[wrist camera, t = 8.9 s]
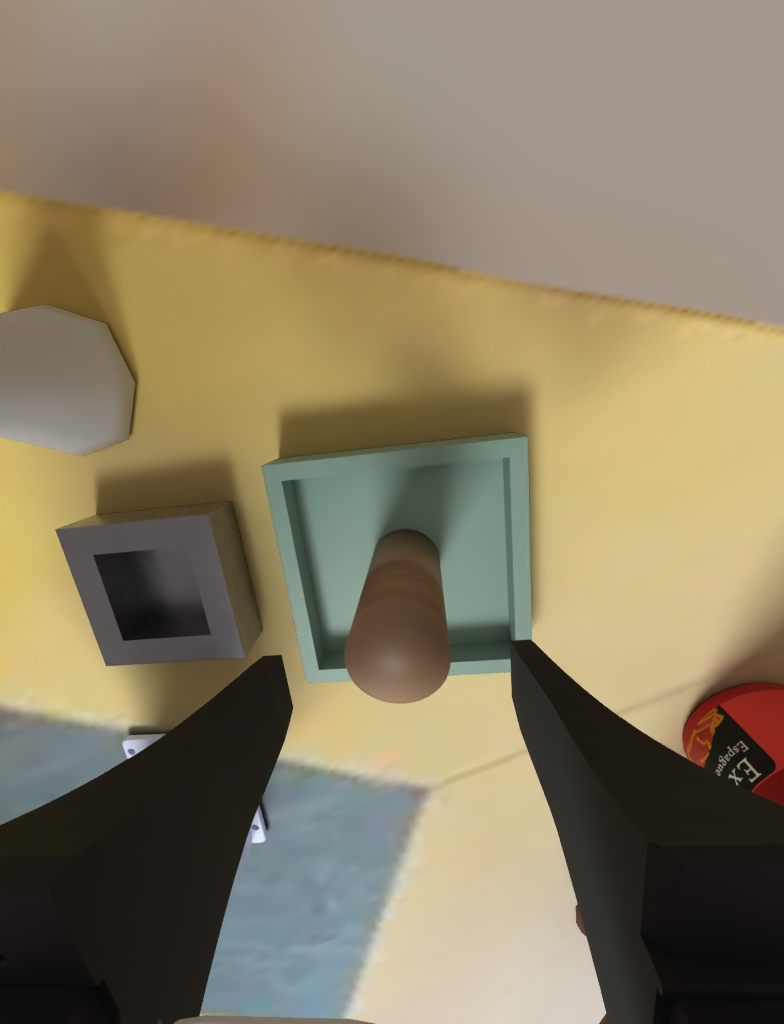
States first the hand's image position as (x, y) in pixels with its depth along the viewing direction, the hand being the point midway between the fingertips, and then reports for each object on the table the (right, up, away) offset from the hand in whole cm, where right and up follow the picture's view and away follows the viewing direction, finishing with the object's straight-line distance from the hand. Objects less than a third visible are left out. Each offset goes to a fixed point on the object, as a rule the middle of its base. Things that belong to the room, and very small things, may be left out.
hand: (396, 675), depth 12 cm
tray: (+1, +3, +9) cm, 10 cm away
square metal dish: (-12, +1, +10) cm, 16 cm away
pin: (+1, +3, +8) cm, 9 cm away
